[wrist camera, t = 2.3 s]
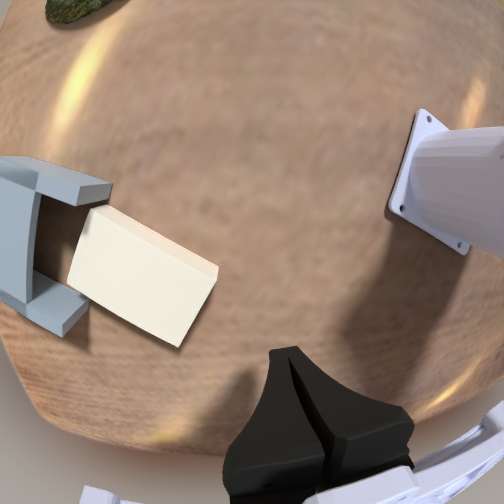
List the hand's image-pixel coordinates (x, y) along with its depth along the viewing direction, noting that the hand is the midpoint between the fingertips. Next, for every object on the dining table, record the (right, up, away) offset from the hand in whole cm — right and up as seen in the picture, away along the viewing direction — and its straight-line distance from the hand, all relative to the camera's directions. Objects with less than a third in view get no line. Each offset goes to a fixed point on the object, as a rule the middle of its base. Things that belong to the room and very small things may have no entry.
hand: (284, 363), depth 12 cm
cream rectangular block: (-8, +4, +4) cm, 10 cm away
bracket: (-15, +7, +3) cm, 17 cm away
